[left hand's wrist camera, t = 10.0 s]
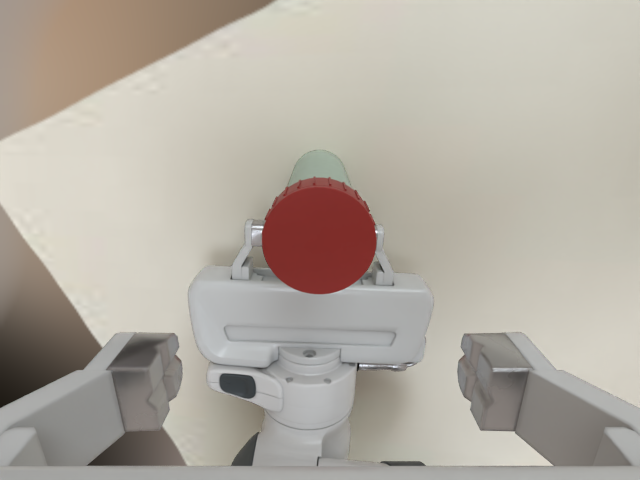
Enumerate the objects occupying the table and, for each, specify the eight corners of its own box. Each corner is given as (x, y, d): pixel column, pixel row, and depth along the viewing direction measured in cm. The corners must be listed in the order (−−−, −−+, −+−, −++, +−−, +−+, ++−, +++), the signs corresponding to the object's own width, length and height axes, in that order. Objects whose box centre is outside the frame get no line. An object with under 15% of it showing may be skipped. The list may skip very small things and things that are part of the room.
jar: (326, 212, 36) (331, 300, 20) (282, 183, 35) (252, 252, 19) (356, 169, 35) (387, 228, 19) (312, 139, 34) (305, 172, 18)
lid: (332, 293, 22) (333, 315, 20) (246, 241, 21) (238, 258, 19) (393, 215, 21) (402, 229, 18) (304, 154, 19) (302, 160, 17)
